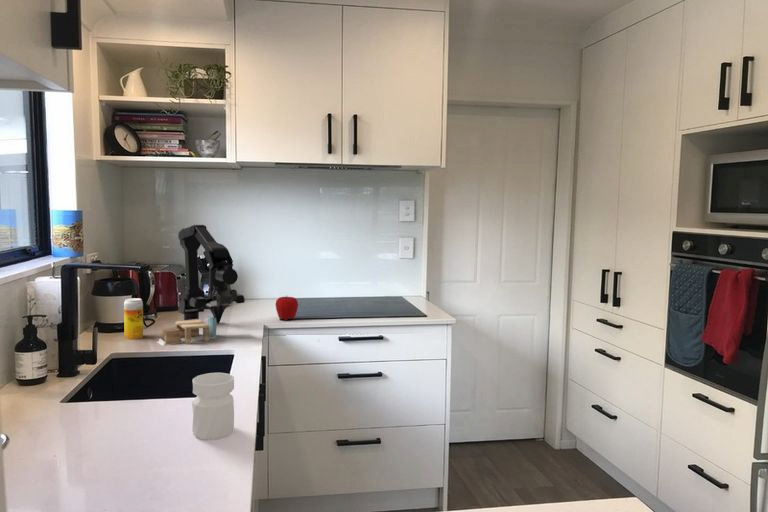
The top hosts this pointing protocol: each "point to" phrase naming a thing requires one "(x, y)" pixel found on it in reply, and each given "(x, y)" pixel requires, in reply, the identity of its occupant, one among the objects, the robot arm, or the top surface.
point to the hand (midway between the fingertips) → (217, 323)
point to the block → (171, 335)
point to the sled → (211, 335)
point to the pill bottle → (213, 406)
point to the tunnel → (192, 329)
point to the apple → (286, 307)
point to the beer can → (133, 318)
